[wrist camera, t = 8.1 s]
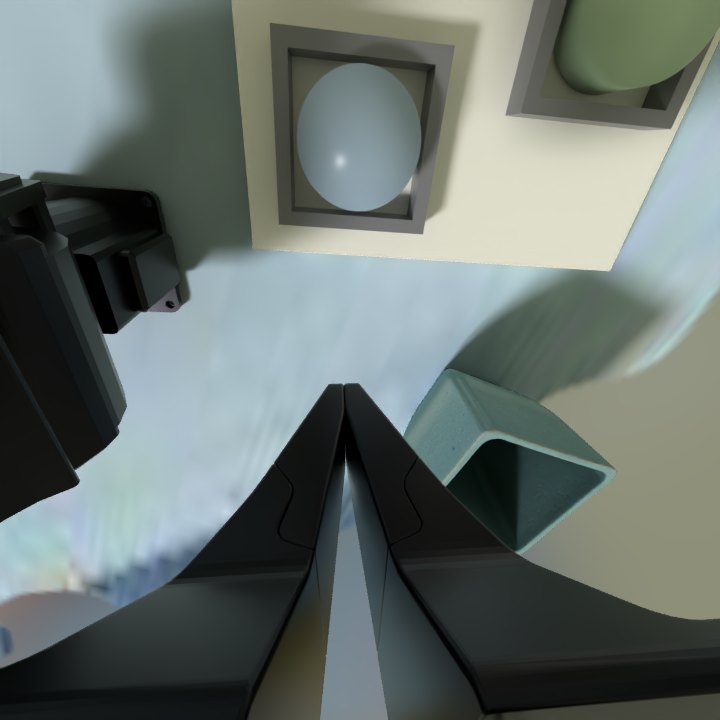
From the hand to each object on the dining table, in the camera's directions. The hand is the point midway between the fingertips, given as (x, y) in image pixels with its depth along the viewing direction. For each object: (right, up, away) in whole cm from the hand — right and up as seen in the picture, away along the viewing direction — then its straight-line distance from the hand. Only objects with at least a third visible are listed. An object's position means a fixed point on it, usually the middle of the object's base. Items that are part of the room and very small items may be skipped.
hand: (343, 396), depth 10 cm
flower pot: (+8, -2, +17) cm, 19 cm away
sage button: (+11, +15, +4) cm, 18 cm away
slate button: (0, +11, +6) cm, 12 cm away
